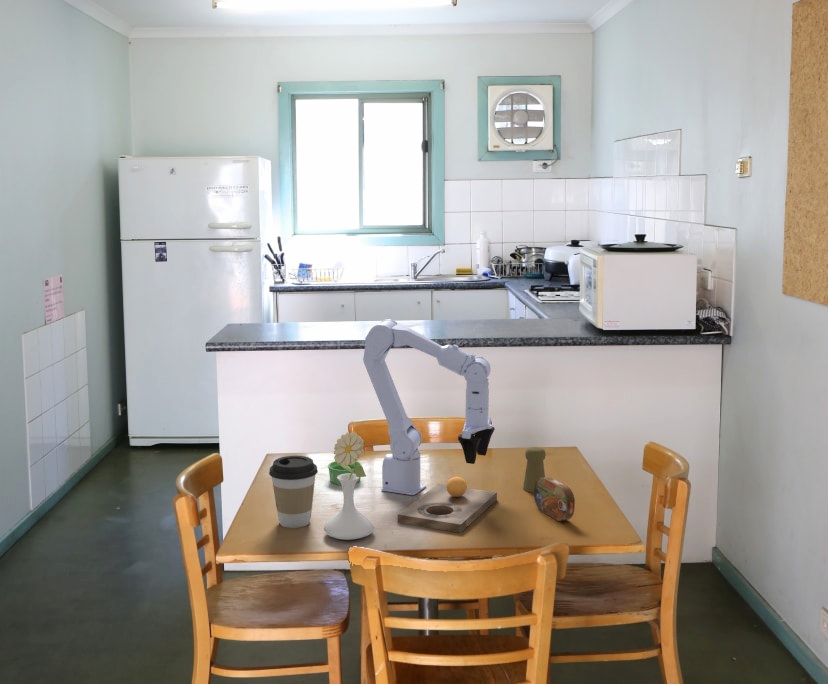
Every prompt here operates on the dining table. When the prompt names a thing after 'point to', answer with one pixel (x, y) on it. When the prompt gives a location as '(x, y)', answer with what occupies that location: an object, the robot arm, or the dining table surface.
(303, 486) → the coffee cup
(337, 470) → the ramekin
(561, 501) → the tin
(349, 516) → the flower in vase
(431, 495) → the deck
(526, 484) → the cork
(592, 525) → the dining table surface
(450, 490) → the ball
